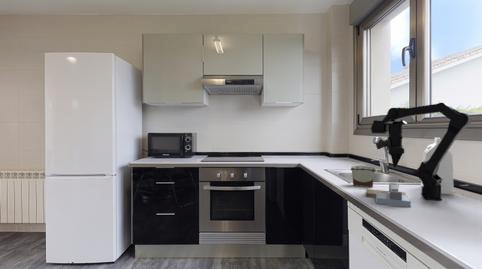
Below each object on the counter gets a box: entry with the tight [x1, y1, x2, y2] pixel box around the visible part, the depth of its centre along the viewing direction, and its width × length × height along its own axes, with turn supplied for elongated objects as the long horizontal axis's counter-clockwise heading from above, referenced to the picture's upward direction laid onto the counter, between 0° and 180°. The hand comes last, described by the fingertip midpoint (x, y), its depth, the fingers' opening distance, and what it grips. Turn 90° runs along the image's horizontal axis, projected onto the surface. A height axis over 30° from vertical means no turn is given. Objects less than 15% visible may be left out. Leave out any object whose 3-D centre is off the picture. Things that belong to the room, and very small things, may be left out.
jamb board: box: [365, 188, 407, 198], centre depth 128 cm, size 16×9×2 cm, turn 65°
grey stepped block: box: [375, 191, 412, 208], centre depth 117 cm, size 12×10×5 cm
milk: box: [420, 137, 455, 195], centre depth 139 cm, size 12×12×26 cm
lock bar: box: [388, 182, 400, 192], centre depth 121 cm, size 13×4×3 cm, turn 154°
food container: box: [350, 165, 377, 188], centre depth 151 cm, size 12×6×10 cm, turn 65°
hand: (394, 167), depth 135 cm, fingers closed
